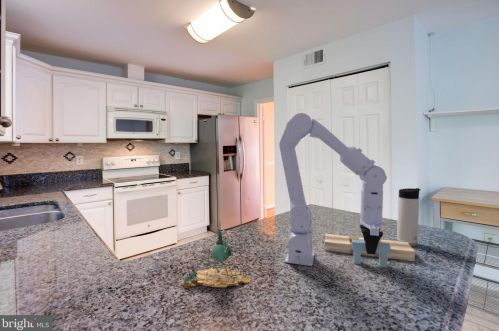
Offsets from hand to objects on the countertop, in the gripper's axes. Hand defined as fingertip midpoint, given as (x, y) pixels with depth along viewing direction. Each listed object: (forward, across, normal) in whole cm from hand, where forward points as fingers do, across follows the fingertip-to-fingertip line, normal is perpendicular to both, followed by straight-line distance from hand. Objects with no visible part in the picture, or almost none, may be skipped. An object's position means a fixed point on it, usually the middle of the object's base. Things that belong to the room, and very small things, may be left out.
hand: (370, 251), depth 74 cm
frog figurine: (+4, -23, +39) cm, 45 cm away
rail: (+4, +10, 0) cm, 11 cm away
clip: (+4, 0, 0) cm, 4 cm away
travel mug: (+4, +22, -15) cm, 27 cm away
